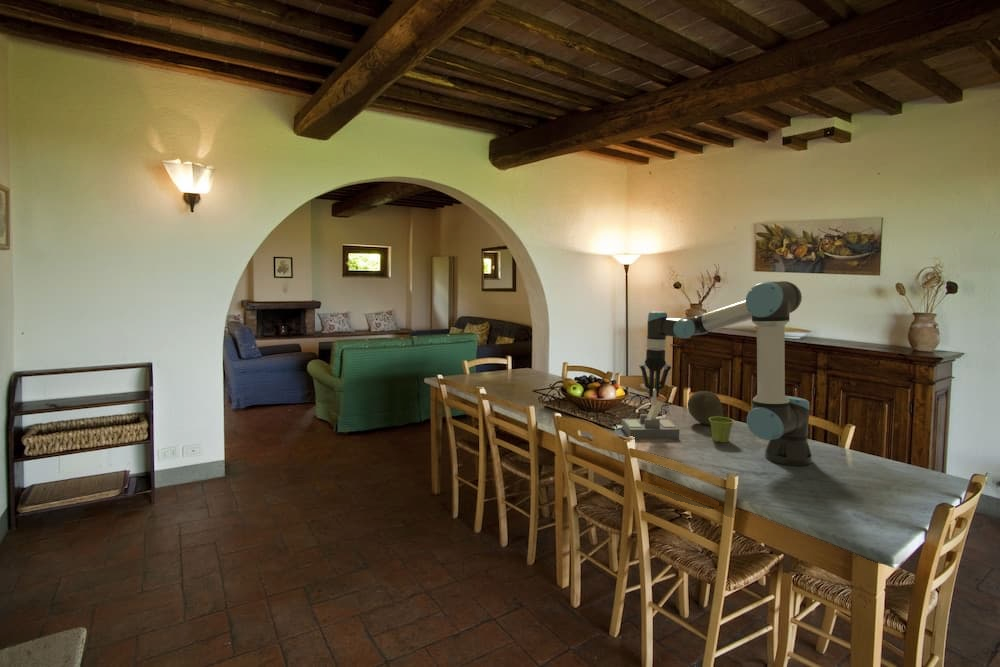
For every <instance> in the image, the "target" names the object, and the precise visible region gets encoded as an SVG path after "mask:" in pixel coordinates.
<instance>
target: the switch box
mask: <svg viewBox="0 0 1000 667" xmlns="http://www.w3.org/2000/svg"><path fill="white" fill-rule="evenodd" d="M647 415H648V413H646V414H644V413H643V414H640V416H639V418H621V426H622V424H623V426H622V428H621V429H622V431H624V433H625V434H626V436H627V437H628V436H633V437H635V439H634V440H680V432H681V431H680V428H679V427H678V426H677V425H676V424H674V423H673V422H672V421H671V420H670V419H668V418H656V419H645V418H646V417H647Z"/></svg>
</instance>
